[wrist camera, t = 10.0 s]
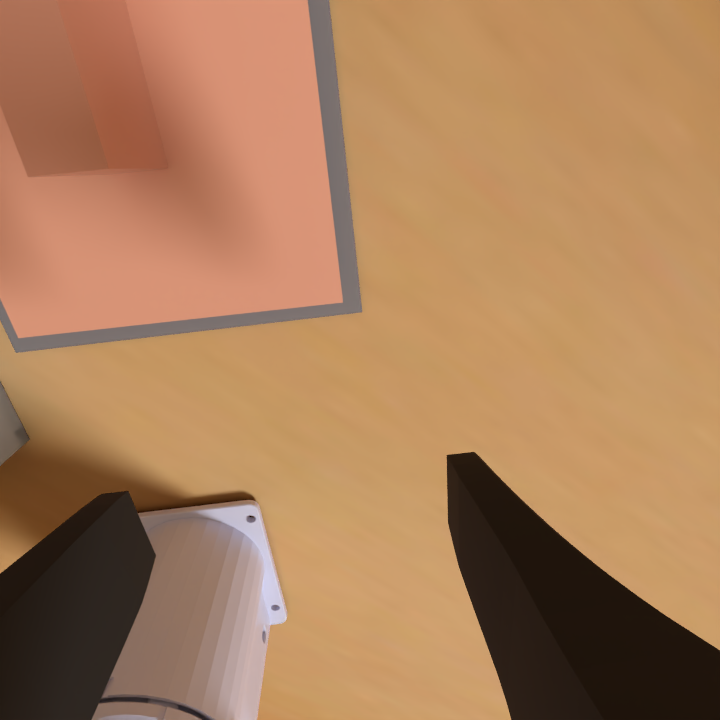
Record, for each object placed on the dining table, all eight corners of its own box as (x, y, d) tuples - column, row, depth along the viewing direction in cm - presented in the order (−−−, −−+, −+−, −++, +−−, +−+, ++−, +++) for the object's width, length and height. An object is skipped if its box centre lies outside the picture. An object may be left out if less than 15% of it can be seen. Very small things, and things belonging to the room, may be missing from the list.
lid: (342, 291, 18) (345, 342, 13) (44, 324, 18) (-77, 389, 13) (270, -322, 11) (214, -751, 6) (-212, -276, 11) (-703, -674, 6)
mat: (361, 310, 19) (362, 312, 19) (20, 349, 19) (16, 352, 18) (286, -397, 11) (285, -411, 11) (-303, -336, 11) (-319, -349, 11)
